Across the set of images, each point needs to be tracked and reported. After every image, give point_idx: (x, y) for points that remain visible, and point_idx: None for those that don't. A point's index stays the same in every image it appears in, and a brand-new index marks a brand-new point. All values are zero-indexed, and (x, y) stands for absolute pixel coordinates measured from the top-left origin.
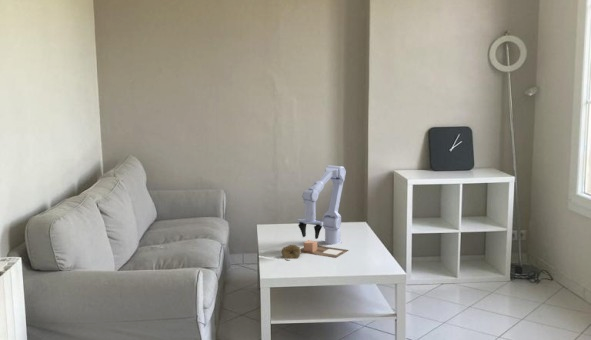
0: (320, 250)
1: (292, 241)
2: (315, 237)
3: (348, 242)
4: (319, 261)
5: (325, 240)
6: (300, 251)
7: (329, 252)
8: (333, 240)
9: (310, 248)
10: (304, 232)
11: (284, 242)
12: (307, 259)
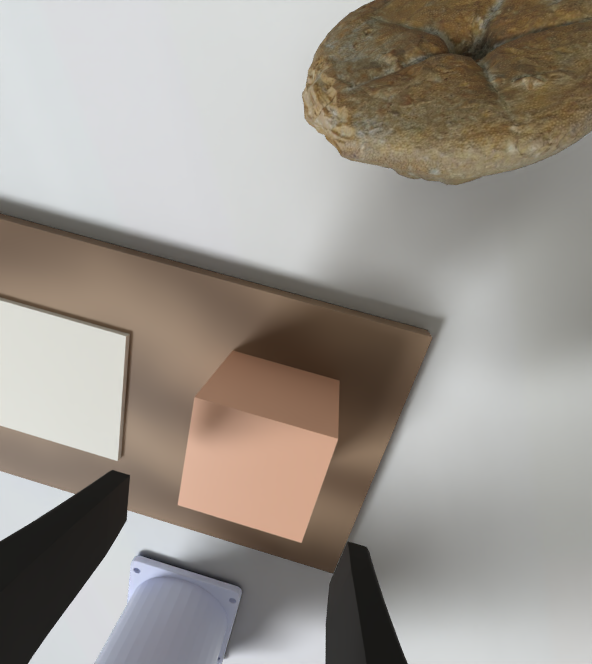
0: (179, 420)
1: (510, 658)
2: (106, 487)
3: (95, 637)
4: (74, 82)
5: (205, 630)
6: (308, 90)
7: (64, 356)
8: (127, 619)
9: (246, 374)
10: (340, 657)
11: (586, 636)
12: (230, 126)
